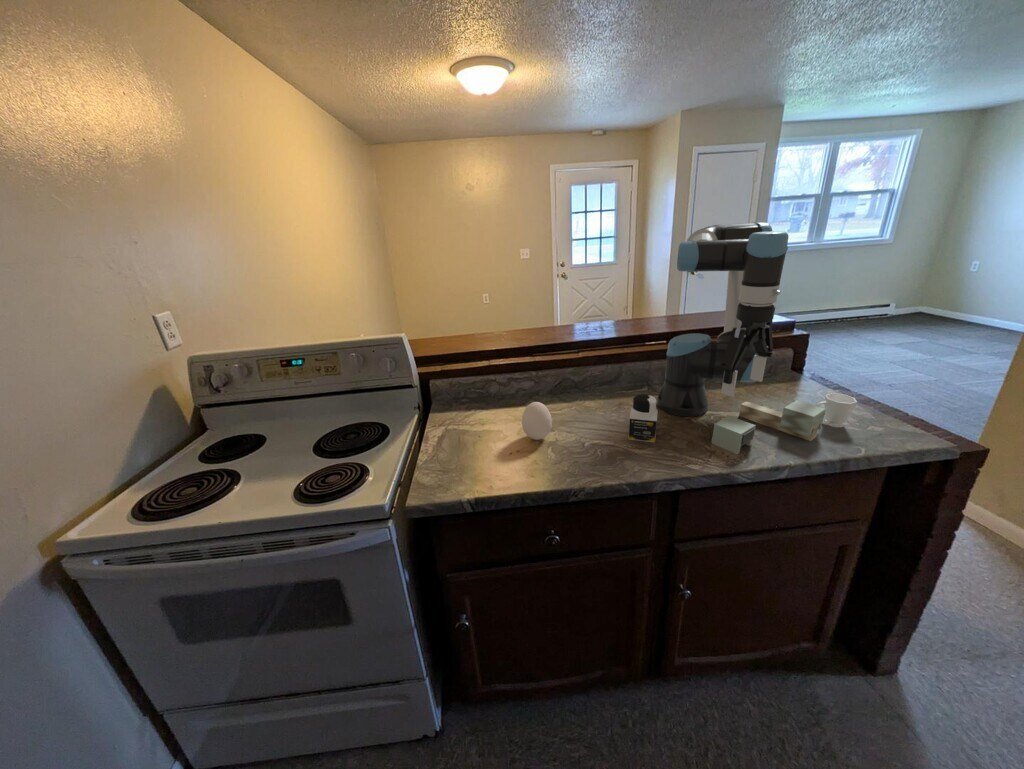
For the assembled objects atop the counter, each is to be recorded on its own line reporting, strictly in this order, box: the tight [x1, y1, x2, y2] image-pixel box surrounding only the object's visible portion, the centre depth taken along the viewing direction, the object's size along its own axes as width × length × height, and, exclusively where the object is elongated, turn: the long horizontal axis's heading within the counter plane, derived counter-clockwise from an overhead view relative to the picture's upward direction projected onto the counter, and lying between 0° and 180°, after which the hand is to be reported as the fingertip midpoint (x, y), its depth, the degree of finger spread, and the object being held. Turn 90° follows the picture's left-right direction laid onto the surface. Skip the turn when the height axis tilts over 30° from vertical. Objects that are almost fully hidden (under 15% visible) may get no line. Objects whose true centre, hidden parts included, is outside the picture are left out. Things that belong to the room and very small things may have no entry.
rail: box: [738, 399, 826, 442], centre depth 112 cm, size 19×7×8 cm, turn 34°
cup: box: [815, 392, 858, 428], centre depth 111 cm, size 7×10×8 cm
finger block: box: [711, 415, 757, 455], centre depth 105 cm, size 7×7×6 cm
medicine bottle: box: [628, 393, 658, 443], centre depth 111 cm, size 7×7×12 cm
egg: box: [521, 401, 553, 441], centre depth 113 cm, size 9×9×12 cm
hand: (742, 387), depth 100 cm, fingers open, 13 cm apart
